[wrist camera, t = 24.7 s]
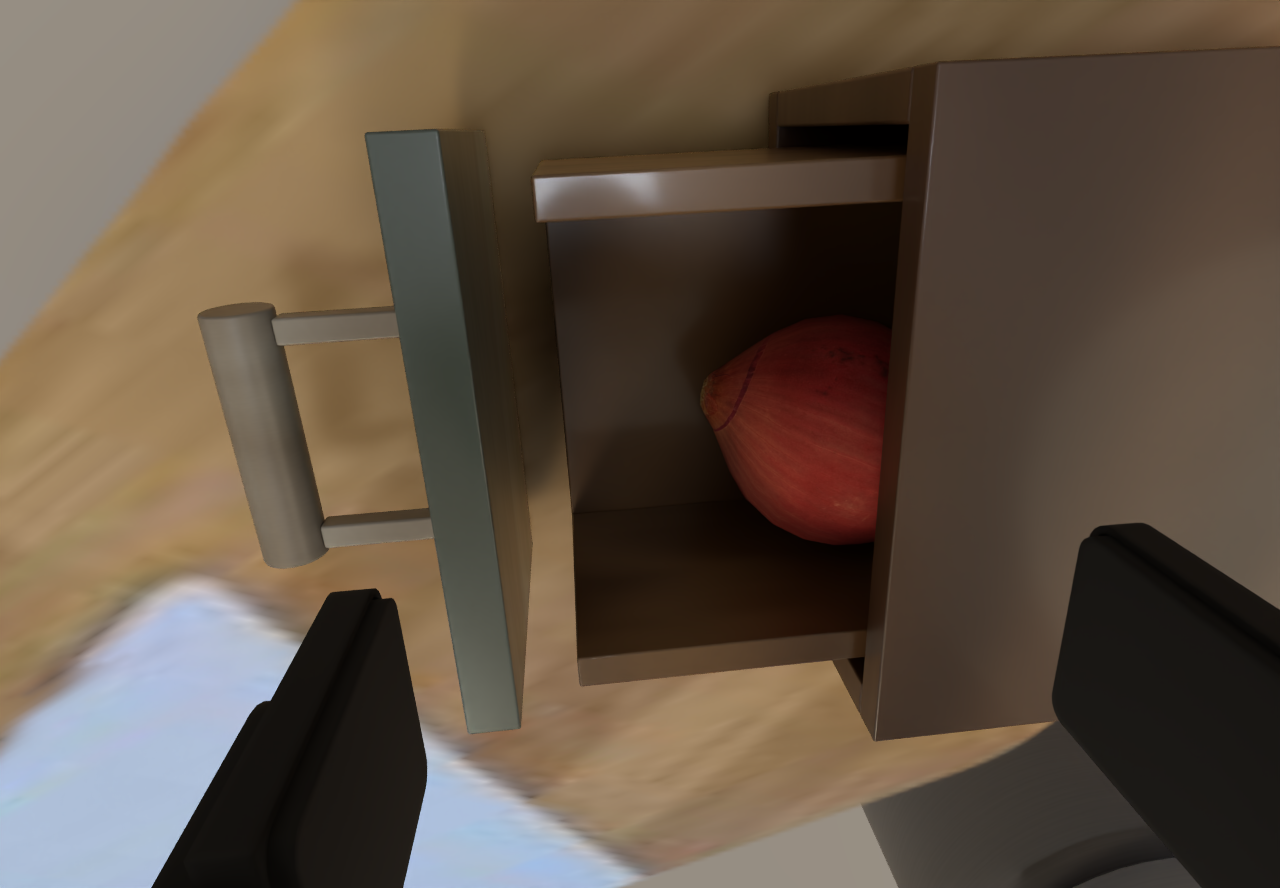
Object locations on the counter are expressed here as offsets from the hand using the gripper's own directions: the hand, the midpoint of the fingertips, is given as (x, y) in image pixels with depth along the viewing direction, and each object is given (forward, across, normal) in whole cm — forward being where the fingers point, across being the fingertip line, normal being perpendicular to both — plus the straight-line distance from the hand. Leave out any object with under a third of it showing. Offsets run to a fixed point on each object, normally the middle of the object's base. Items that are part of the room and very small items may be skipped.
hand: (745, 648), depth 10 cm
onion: (+11, -1, -1) cm, 11 cm away
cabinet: (+15, -12, -1) cm, 19 cm away
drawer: (+14, 0, -1) cm, 14 cm away
